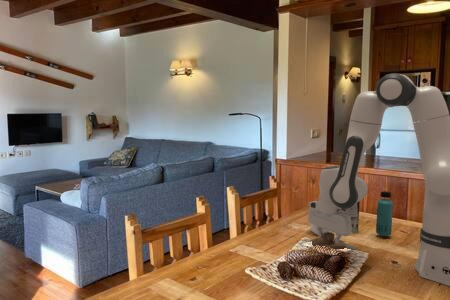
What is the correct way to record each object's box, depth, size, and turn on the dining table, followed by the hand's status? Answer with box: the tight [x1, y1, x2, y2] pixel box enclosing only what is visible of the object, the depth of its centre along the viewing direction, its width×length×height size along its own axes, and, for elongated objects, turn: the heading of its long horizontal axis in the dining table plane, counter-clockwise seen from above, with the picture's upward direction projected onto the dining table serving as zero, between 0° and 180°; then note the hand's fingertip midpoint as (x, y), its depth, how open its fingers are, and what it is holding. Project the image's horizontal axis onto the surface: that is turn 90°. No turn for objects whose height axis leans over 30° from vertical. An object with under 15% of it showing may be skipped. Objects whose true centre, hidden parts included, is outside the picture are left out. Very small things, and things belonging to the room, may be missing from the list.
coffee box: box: [341, 200, 361, 234], centre depth 174 cm, size 9×6×16 cm
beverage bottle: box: [375, 190, 394, 237], centre depth 165 cm, size 6×7×20 cm
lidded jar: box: [309, 222, 333, 236], centre depth 168 cm, size 11×11×9 cm
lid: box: [311, 232, 347, 249], centre depth 153 cm, size 13×13×5 cm
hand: (328, 240), depth 153 cm, fingers open, 7 cm apart
